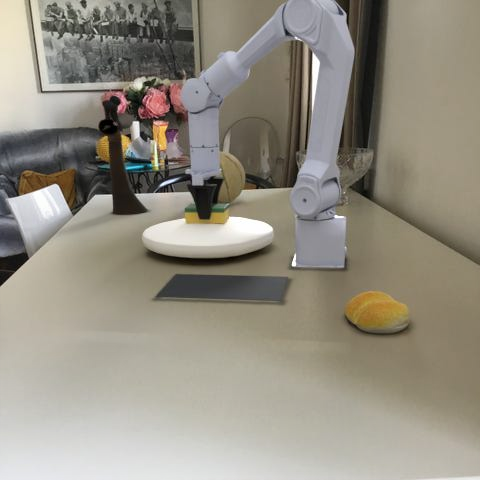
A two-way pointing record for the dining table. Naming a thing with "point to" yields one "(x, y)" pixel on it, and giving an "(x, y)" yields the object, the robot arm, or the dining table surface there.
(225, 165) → the cantaloupe
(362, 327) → the bread roll
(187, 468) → the dining table surface
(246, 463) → the dining table surface
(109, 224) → the dining table surface
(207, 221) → the sponge
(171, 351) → the dining table surface
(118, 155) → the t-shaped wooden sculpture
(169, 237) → the plate
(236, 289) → the sponge mat
